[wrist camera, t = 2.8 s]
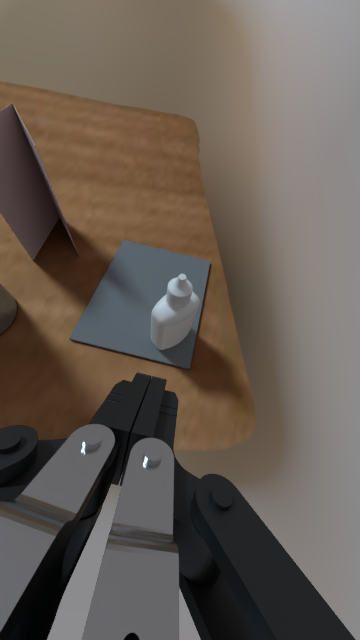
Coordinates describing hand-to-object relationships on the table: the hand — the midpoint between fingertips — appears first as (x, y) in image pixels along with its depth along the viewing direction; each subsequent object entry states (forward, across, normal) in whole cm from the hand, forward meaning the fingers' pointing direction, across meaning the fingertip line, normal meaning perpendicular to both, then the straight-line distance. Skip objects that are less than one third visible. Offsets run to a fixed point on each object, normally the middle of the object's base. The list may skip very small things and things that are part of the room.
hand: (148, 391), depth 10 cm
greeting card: (+28, +22, -6) cm, 36 cm away
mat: (+22, +5, -1) cm, 23 cm away
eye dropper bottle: (+18, 0, +3) cm, 18 cm away
